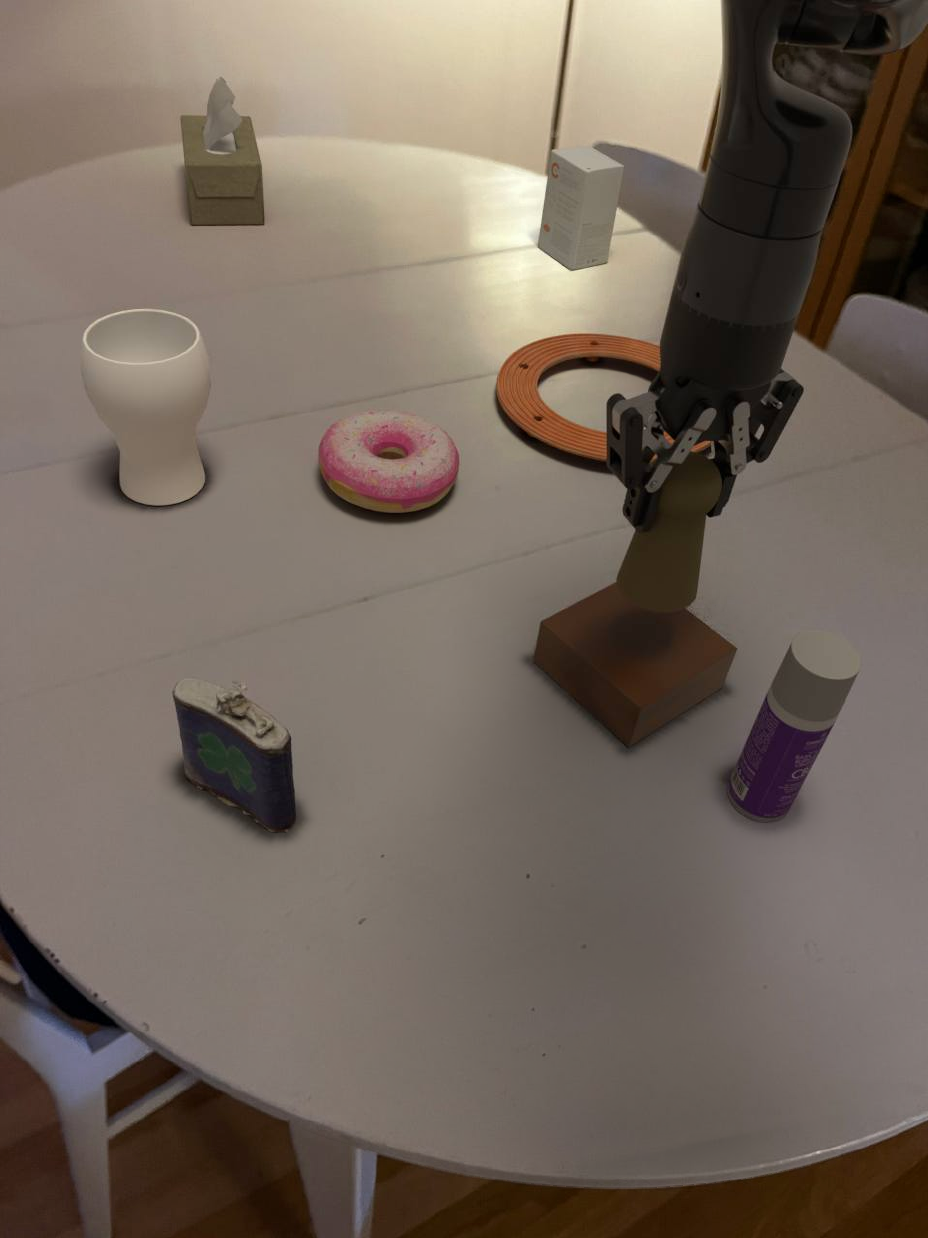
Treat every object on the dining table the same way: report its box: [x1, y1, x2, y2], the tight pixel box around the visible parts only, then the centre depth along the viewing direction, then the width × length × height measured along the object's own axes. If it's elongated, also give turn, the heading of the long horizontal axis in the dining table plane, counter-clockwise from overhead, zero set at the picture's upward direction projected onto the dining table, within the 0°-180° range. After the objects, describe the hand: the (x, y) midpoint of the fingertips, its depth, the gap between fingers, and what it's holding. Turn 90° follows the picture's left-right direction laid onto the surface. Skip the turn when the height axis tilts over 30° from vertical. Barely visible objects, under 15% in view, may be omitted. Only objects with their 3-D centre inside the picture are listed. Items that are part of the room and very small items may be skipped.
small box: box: [537, 144, 625, 271], centre depth 135 cm, size 8×6×13 cm
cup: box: [80, 308, 212, 506], centre depth 91 cm, size 11×11×15 cm
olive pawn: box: [616, 451, 722, 613], centre depth 72 cm, size 6×6×11 cm
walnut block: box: [532, 581, 738, 748], centre depth 81 cm, size 11×11×4 cm
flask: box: [171, 677, 298, 833], centre depth 67 cm, size 9×3×11 cm, turn 58°
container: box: [726, 629, 862, 823], centre depth 70 cm, size 5×5×15 cm
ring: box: [495, 332, 711, 465], centre depth 111 cm, size 25×25×2 cm
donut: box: [317, 409, 460, 514], centre depth 97 cm, size 14×13×5 cm
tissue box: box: [179, 76, 266, 226], centre depth 138 cm, size 19×10×16 cm, turn 13°
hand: (673, 516), depth 72 cm, fingers closed on olive pawn, 5 cm apart
